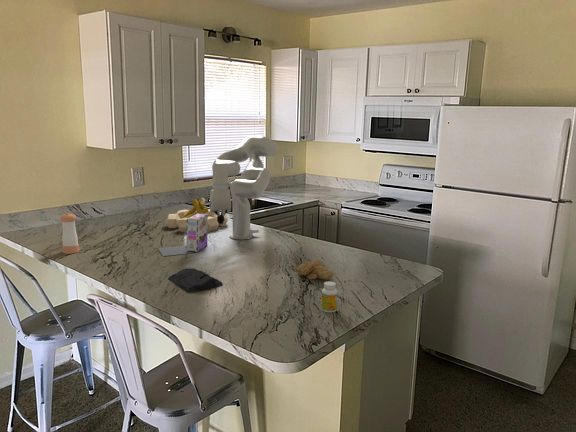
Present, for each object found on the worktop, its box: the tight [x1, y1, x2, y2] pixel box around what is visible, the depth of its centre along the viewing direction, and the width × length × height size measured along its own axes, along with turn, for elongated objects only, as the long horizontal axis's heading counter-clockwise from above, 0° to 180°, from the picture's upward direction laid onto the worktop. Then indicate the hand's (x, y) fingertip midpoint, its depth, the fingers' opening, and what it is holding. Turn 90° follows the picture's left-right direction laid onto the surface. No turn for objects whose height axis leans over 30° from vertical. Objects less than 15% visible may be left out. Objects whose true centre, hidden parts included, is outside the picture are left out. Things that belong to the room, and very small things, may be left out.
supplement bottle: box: [320, 281, 338, 313], centre depth 167 cm, size 5×5×10 cm
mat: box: [157, 244, 193, 257], centre depth 235 cm, size 14×14×1 cm
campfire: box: [164, 197, 229, 234], centre depth 285 cm, size 35×34×17 cm
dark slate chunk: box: [167, 267, 224, 294], centre depth 193 cm, size 15×22×5 cm
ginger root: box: [293, 258, 335, 281], centre depth 201 cm, size 16×16×8 cm
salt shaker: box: [59, 212, 80, 255], centre depth 230 cm, size 7×7×19 cm
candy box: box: [186, 214, 208, 253], centre depth 238 cm, size 14×6×16 cm, turn 168°
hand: (220, 223), depth 242 cm, fingers closed
